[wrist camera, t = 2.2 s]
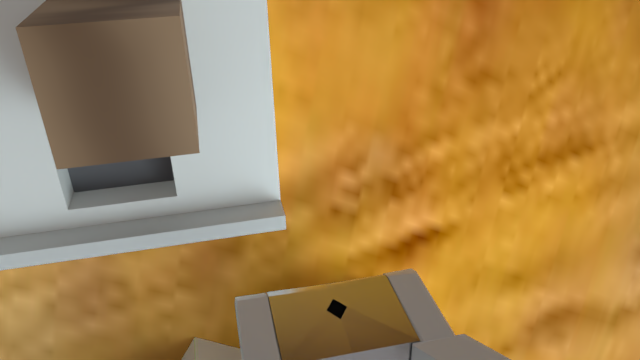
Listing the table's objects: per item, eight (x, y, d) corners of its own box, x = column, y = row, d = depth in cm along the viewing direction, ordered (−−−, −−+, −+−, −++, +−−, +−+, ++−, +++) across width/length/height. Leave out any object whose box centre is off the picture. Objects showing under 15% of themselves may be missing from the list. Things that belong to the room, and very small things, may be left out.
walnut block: (179, -11, 22) (179, 15, 18) (196, 105, 25) (199, 153, 20) (48, -3, 21) (15, 27, 17) (78, 117, 24) (56, 169, 19)
